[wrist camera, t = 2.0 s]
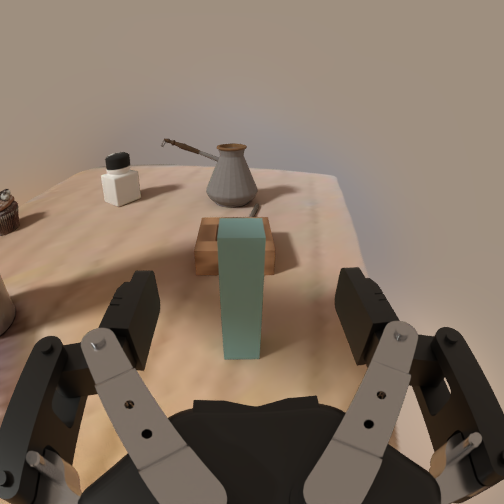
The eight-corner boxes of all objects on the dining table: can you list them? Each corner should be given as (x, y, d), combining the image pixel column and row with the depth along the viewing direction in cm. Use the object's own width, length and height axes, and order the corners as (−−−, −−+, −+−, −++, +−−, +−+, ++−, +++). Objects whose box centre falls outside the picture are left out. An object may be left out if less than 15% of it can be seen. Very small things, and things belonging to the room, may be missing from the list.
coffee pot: (257, 193, 72) (259, 133, 64) (256, 211, 62) (258, 141, 55) (172, 192, 72) (169, 134, 65) (159, 210, 63) (152, 143, 55)
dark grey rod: (244, 237, 52) (244, 233, 52) (239, 236, 52) (240, 232, 52) (259, 206, 65) (259, 203, 64) (255, 206, 65) (255, 202, 64)
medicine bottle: (141, 198, 69) (136, 151, 63) (118, 207, 64) (111, 158, 58) (126, 193, 73) (121, 149, 67) (104, 202, 68) (98, 156, 62)
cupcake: (-7, 229, 55) (-17, 195, 50) (21, 217, 61) (13, 183, 56) (-8, 241, 50) (-19, 203, 45) (23, 228, 56) (14, 189, 51)
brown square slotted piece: (196, 275, 42) (194, 251, 40) (203, 238, 51) (202, 217, 49) (273, 274, 42) (275, 250, 40) (266, 238, 52) (267, 217, 50)
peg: (224, 359, 29) (217, 238, 22) (224, 334, 32) (219, 218, 25) (259, 358, 29) (265, 237, 22) (257, 334, 32) (262, 218, 25)
